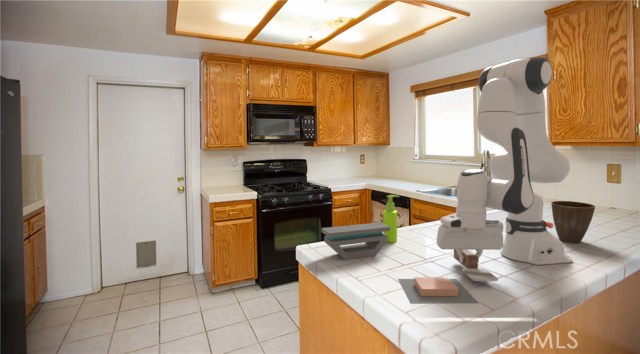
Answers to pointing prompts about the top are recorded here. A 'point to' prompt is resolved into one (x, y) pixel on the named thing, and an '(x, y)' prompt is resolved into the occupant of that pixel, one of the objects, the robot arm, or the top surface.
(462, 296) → the mat
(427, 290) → the tile
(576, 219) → the plant pot
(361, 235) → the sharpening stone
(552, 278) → the top surface
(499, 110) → the robot arm
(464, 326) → the top surface
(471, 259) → the turner
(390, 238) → the soap dispenser
